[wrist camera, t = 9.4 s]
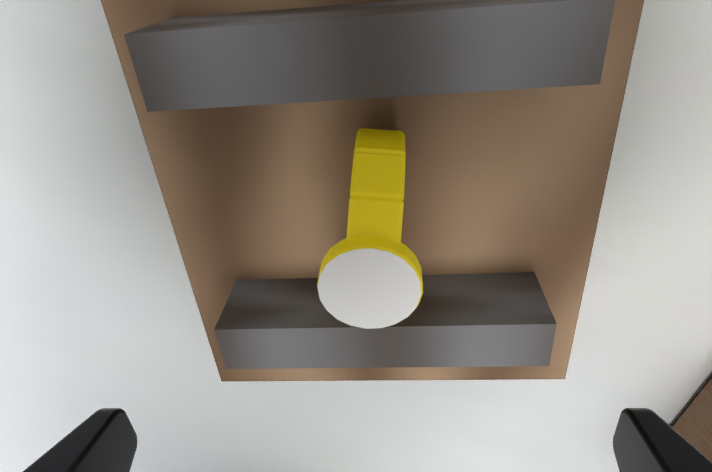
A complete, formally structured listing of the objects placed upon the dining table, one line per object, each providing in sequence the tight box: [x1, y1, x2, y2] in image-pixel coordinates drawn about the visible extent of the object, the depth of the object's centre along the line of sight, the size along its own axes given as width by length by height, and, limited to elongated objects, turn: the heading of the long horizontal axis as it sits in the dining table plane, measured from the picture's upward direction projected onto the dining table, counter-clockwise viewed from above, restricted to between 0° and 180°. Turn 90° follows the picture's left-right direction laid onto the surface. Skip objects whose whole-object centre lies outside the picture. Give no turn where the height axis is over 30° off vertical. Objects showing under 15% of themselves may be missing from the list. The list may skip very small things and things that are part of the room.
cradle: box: [101, 0, 644, 381], centre depth 17 cm, size 16×20×4 cm
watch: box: [317, 128, 423, 329], centre depth 15 cm, size 6×3×6 cm, turn 177°
